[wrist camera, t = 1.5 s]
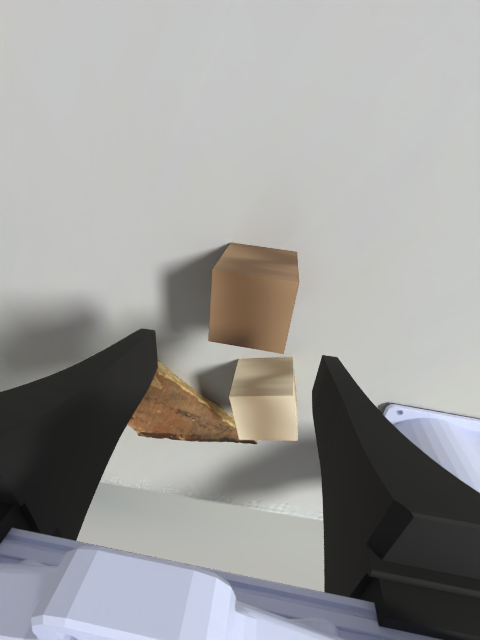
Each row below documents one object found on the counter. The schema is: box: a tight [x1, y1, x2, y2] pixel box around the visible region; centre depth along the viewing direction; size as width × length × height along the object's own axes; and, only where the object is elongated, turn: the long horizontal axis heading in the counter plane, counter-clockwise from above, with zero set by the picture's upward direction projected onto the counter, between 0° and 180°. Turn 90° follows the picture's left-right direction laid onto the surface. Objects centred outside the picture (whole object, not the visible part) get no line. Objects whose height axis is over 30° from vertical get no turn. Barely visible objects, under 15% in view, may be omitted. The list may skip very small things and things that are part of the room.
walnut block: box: [208, 243, 299, 354], centre depth 18 cm, size 4×4×6 cm
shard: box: [128, 361, 257, 444], centre depth 29 cm, size 13×9×2 cm
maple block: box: [229, 357, 298, 441], centre depth 23 cm, size 4×4×4 cm
